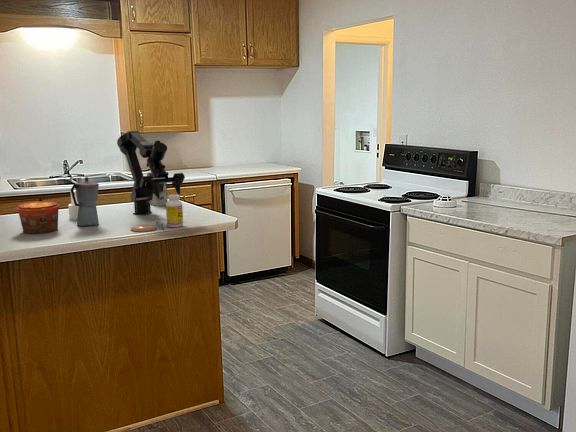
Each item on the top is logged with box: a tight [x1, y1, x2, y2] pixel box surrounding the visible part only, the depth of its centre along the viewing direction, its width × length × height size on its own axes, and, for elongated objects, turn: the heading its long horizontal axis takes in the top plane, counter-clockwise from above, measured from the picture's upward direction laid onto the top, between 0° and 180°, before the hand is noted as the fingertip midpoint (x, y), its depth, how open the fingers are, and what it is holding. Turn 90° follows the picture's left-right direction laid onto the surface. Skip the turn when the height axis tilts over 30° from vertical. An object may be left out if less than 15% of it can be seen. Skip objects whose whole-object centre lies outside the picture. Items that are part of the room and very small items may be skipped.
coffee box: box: [146, 171, 169, 207], centre depth 283 cm, size 9×6×16 cm
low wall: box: [155, 218, 164, 231], centre depth 231 cm, size 10×1×2 cm, turn 26°
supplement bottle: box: [165, 194, 184, 228], centre depth 233 cm, size 7×7×13 cm
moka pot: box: [70, 177, 100, 227], centre depth 236 cm, size 10×15×20 cm, turn 161°
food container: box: [15, 201, 61, 235], centre depth 226 cm, size 16×16×11 cm
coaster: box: [130, 223, 157, 233], centre depth 228 cm, size 10×10×1 cm
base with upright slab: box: [68, 189, 79, 220], centre depth 252 cm, size 9×9×12 cm
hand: (169, 196), depth 235 cm, fingers open, 9 cm apart
